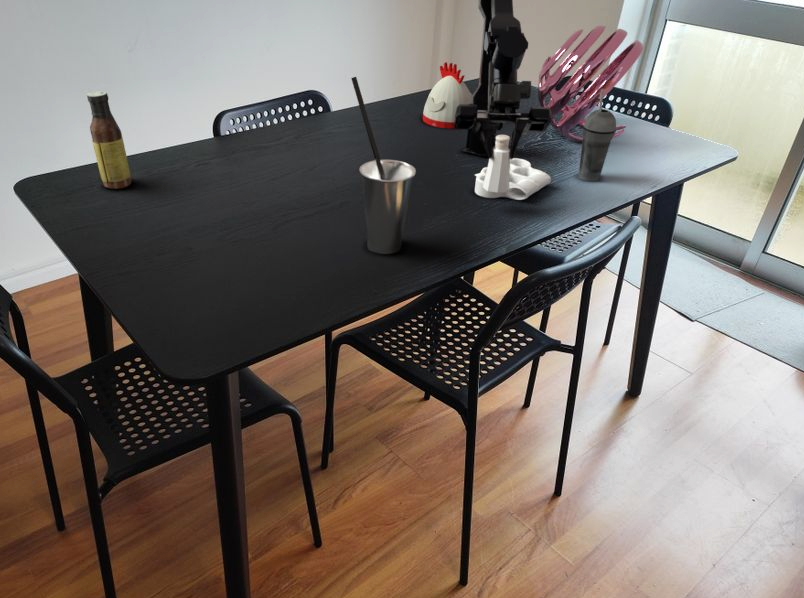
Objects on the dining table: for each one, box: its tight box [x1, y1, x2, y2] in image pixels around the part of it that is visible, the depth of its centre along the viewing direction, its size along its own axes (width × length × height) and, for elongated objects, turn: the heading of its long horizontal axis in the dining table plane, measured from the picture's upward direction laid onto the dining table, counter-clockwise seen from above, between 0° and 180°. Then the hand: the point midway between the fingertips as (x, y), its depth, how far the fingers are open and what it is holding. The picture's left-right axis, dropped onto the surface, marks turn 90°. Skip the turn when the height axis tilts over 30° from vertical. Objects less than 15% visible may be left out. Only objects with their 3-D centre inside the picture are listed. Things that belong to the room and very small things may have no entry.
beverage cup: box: [578, 89, 617, 182], centre depth 159 cm, size 7×7×20 cm
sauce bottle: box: [86, 90, 132, 190], centre depth 151 cm, size 7×6×20 cm
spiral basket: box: [536, 24, 645, 143], centre depth 181 cm, size 28×28×27 cm
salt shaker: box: [483, 134, 511, 194], centre depth 144 cm, size 5×5×11 cm
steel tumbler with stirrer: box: [350, 76, 417, 255], centre depth 127 cm, size 11×11×30 cm
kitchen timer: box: [422, 61, 473, 129], centre depth 193 cm, size 14×14×15 cm
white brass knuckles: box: [474, 157, 552, 201], centre depth 159 cm, size 3×18×15 cm
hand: (500, 158), depth 142 cm, fingers closed on salt shaker, 4 cm apart
